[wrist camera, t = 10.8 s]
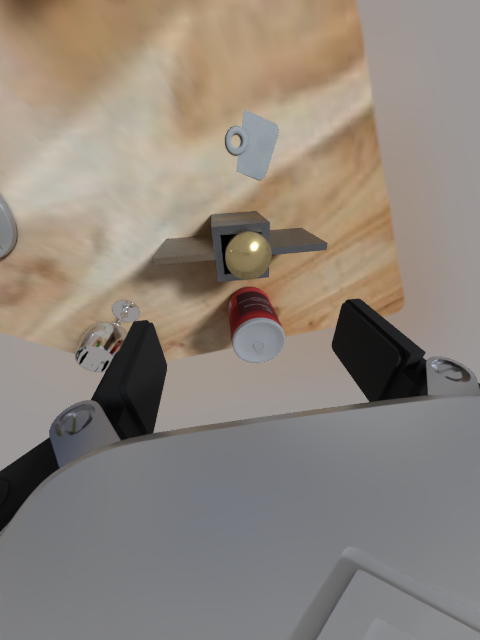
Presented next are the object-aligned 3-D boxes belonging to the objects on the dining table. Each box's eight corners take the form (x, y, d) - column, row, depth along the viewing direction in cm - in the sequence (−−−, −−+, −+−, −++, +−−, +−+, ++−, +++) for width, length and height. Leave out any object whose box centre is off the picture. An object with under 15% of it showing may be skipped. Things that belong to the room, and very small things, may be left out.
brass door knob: (220, 218, 31) (223, 235, 22) (255, 215, 31) (272, 231, 22) (223, 254, 34) (227, 281, 25) (256, 251, 34) (271, 277, 25)
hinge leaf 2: (216, 258, 34) (217, 282, 27) (211, 214, 30) (210, 227, 23) (299, 251, 35) (322, 272, 27) (303, 207, 31) (331, 217, 24)
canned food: (243, 329, 42) (251, 370, 33) (218, 300, 38) (220, 339, 29) (276, 309, 41) (295, 347, 31) (255, 276, 36) (269, 310, 27)
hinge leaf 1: (256, 211, 31) (269, 222, 23) (256, 255, 34) (268, 277, 27) (161, 218, 30) (144, 232, 23) (172, 262, 34) (160, 287, 26)
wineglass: (141, 328, 40) (117, 378, 30) (107, 320, 38) (69, 370, 28) (146, 302, 37) (121, 348, 27) (109, 292, 35) (69, 337, 25)
